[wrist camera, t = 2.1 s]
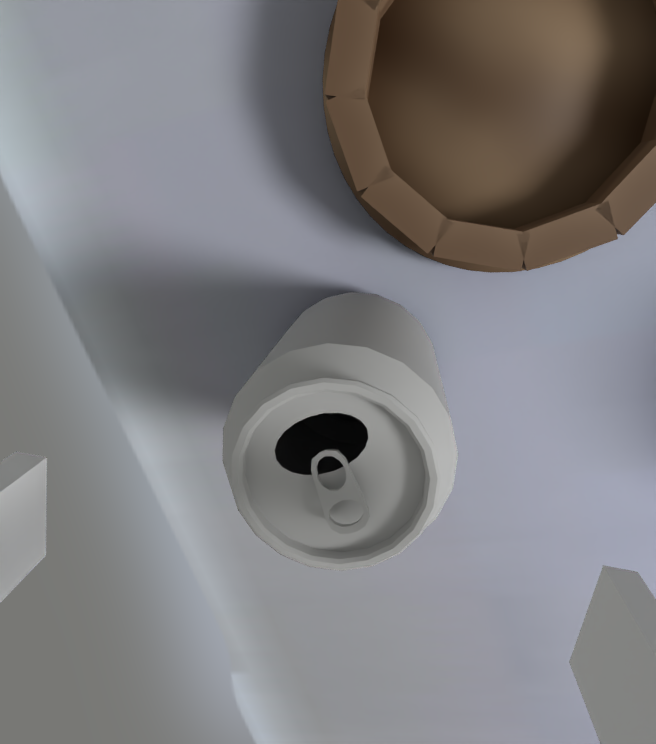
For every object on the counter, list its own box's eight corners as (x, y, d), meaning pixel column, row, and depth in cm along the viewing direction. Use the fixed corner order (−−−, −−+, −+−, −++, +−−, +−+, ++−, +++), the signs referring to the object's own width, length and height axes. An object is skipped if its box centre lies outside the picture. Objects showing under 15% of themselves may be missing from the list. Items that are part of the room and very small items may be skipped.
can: (402, 264, 26) (408, 317, 15) (457, 408, 28) (500, 555, 17) (256, 323, 28) (161, 412, 17) (317, 456, 30) (268, 619, 18)
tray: (357, -160, 22) (352, -213, 19) (764, -109, 21) (822, -156, 18) (302, 239, 26) (291, 245, 24) (633, 295, 26) (663, 308, 23)
